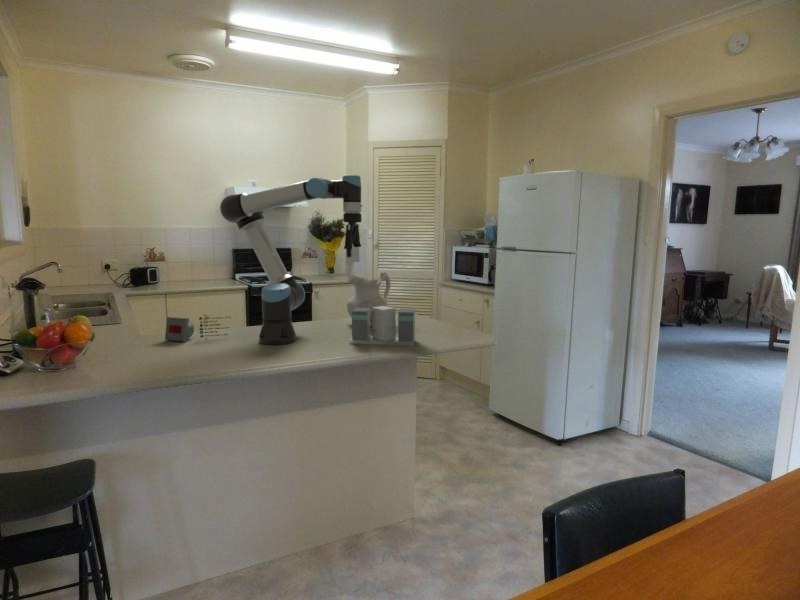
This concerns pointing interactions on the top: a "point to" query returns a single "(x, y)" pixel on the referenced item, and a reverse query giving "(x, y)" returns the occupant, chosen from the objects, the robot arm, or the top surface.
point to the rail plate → (381, 342)
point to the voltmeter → (184, 328)
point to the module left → (360, 323)
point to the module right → (406, 325)
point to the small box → (383, 323)
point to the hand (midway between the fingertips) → (353, 263)
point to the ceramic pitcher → (367, 293)
